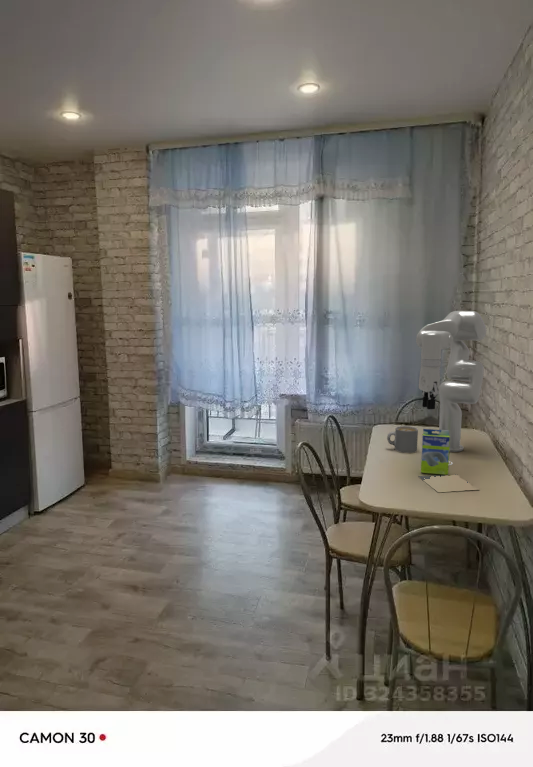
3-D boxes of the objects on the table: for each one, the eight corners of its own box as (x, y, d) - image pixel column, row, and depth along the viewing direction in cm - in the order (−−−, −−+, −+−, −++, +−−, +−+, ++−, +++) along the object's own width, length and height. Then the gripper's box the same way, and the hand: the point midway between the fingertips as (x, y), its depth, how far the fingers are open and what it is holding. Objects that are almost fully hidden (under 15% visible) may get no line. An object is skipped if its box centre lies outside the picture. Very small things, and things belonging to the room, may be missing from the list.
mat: (418, 476, 204) (418, 476, 204) (456, 474, 206) (456, 474, 206) (437, 492, 188) (437, 492, 188) (479, 490, 190) (479, 489, 190)
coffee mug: (417, 447, 244) (418, 426, 242) (416, 453, 235) (417, 432, 233) (388, 445, 248) (389, 424, 247) (386, 450, 239) (386, 429, 237)
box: (420, 473, 208) (422, 430, 207) (420, 470, 212) (422, 428, 210) (448, 475, 205) (450, 431, 204) (447, 472, 209) (449, 430, 208)
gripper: (413, 361, 217) (411, 404, 220) (430, 366, 200) (428, 412, 203) (430, 360, 217) (428, 403, 221) (449, 365, 201) (446, 412, 204)
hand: (428, 407), depth 212 cm, fingers open, 3 cm apart
